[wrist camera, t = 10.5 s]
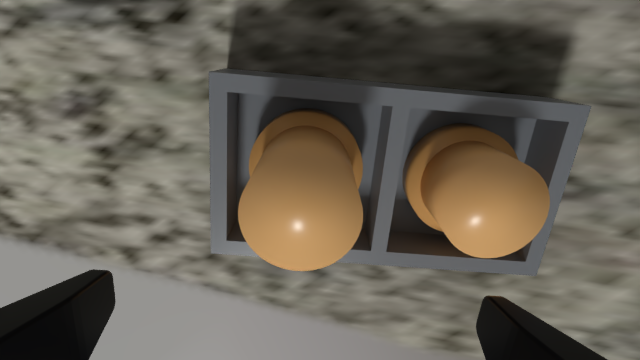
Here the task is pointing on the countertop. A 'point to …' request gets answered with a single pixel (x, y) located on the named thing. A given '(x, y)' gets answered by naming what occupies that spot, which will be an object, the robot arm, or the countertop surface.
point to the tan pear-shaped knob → (303, 191)
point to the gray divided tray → (412, 166)
